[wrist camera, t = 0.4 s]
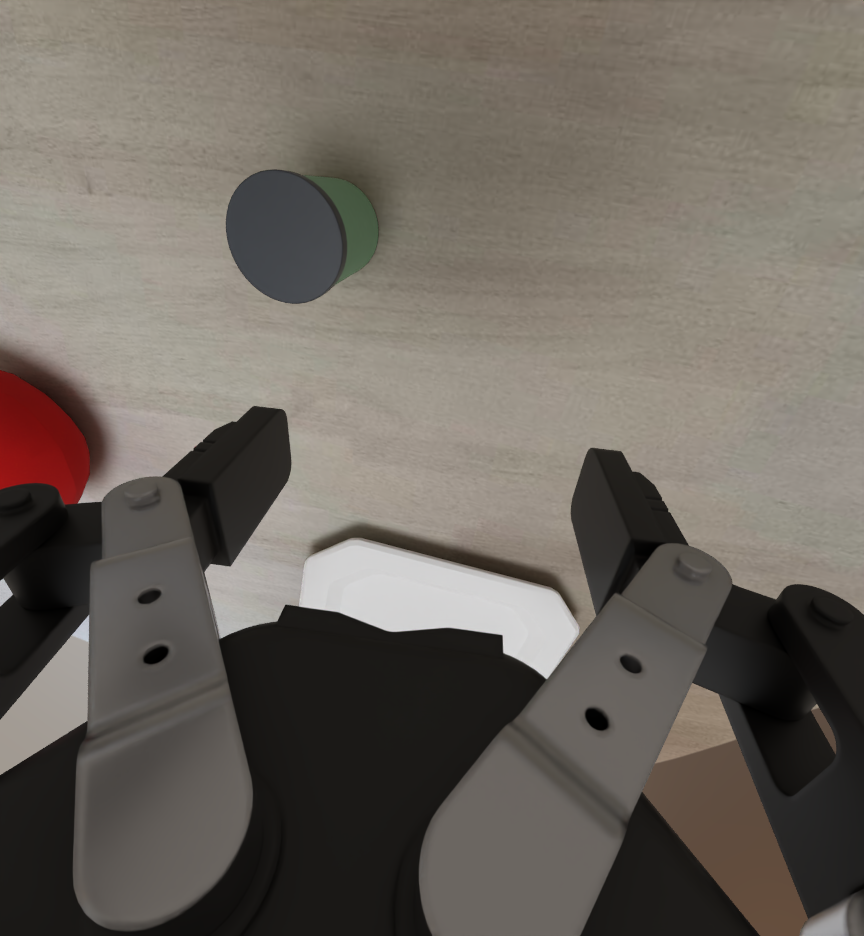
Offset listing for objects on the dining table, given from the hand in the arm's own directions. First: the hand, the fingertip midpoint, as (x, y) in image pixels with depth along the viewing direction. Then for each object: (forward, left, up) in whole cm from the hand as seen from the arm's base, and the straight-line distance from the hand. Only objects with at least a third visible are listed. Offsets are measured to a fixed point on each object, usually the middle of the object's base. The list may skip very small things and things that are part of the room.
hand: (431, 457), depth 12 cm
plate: (+32, -2, -19) cm, 37 cm away
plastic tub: (-4, -8, -19) cm, 21 cm away
